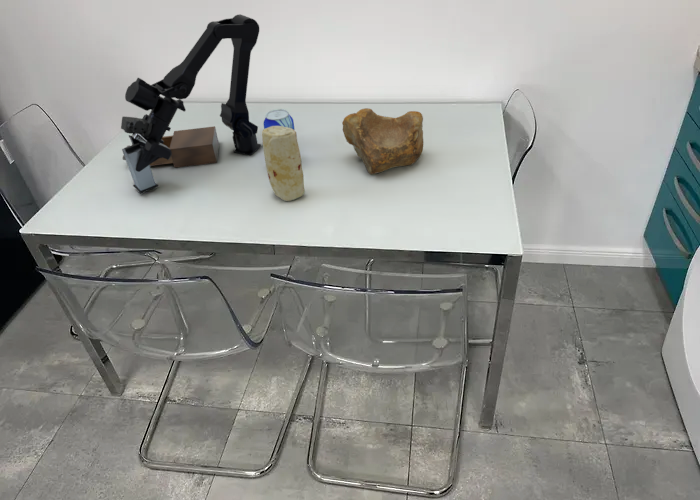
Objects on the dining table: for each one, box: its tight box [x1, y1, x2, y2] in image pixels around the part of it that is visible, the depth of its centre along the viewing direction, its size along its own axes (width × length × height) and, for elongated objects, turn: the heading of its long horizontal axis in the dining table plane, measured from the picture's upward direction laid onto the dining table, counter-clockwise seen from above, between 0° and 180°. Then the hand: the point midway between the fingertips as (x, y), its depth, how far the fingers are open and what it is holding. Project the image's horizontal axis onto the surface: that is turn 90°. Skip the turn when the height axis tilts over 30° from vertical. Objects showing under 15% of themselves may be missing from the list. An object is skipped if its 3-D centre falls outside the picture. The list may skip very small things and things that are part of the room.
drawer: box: [122, 135, 173, 167], centre depth 172 cm, size 17×11×5 cm, turn 97°
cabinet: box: [169, 126, 220, 169], centre depth 173 cm, size 13×12×6 cm
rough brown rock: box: [341, 107, 424, 175], centre depth 158 cm, size 23×17×15 cm
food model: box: [261, 126, 306, 202], centre depth 147 cm, size 10×7×20 cm
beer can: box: [262, 108, 296, 131], centre depth 162 cm, size 8×8×16 cm
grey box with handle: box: [121, 143, 159, 194], centre depth 156 cm, size 5×5×13 cm
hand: (134, 167), depth 155 cm, fingers closed on grey box with handle, 4 cm apart
